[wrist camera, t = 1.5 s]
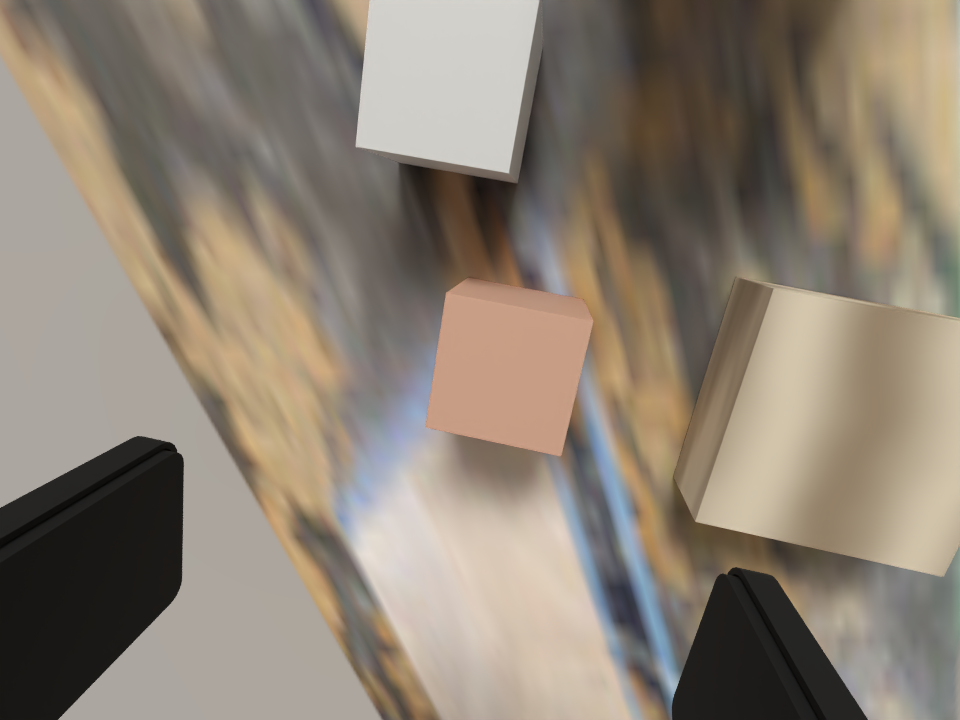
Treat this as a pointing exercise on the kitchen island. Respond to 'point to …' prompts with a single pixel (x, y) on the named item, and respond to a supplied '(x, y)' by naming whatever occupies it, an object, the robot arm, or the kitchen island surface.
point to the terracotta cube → (508, 364)
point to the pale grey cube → (450, 83)
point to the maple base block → (830, 427)
